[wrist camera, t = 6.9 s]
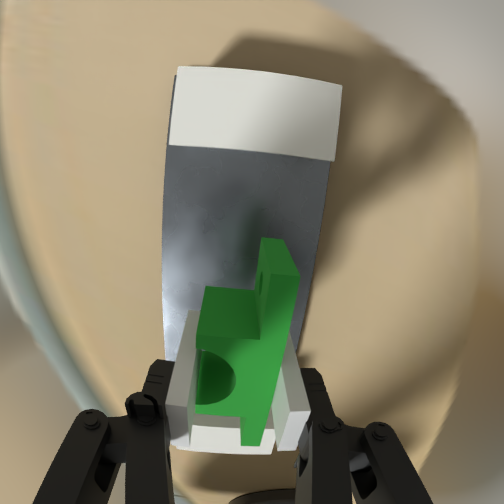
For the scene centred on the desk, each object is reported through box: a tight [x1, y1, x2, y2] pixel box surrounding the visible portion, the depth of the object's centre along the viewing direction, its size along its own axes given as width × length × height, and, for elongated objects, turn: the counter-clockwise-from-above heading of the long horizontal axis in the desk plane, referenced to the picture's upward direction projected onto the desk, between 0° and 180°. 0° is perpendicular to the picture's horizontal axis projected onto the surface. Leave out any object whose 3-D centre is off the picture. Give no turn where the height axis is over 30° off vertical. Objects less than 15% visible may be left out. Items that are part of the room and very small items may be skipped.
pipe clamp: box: [195, 237, 301, 446], centre depth 14 cm, size 10×4×4 cm, turn 173°
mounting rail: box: [162, 66, 342, 454], centre depth 19 cm, size 28×10×5 cm, turn 174°
